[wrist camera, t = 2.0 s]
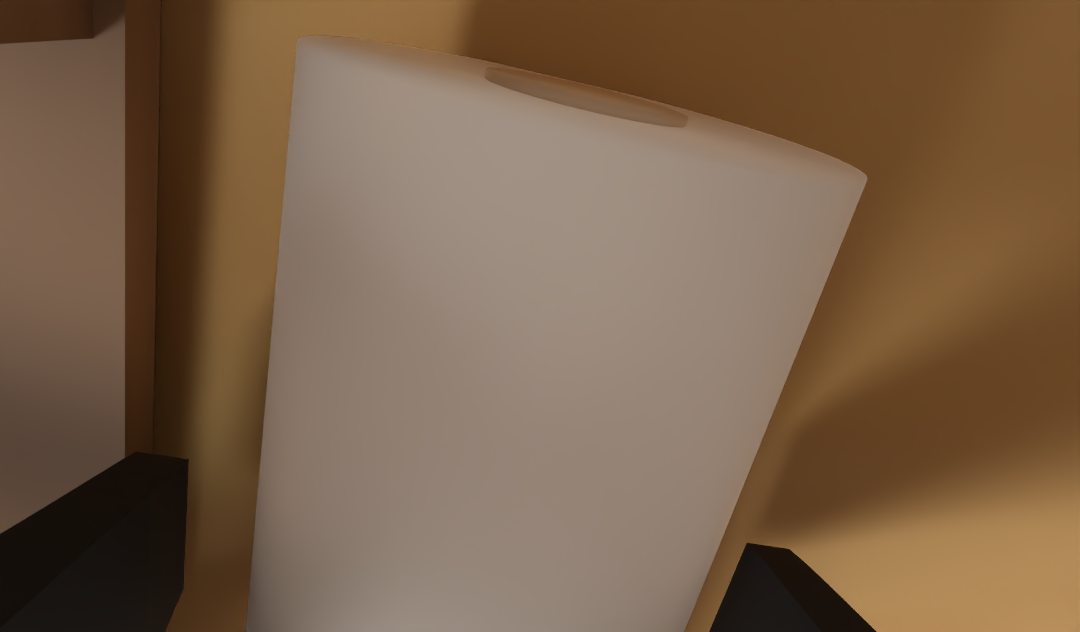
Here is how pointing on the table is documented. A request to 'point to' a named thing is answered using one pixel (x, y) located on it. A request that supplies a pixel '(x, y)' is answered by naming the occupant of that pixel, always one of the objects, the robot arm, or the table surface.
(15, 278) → the holder
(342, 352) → the cylinder
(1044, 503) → the table surface
